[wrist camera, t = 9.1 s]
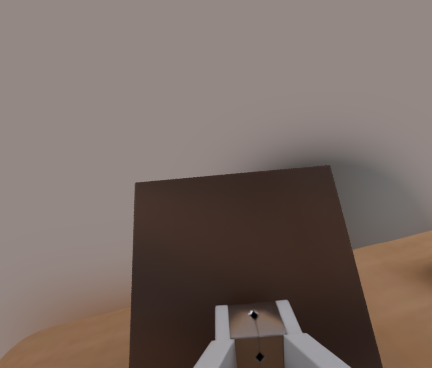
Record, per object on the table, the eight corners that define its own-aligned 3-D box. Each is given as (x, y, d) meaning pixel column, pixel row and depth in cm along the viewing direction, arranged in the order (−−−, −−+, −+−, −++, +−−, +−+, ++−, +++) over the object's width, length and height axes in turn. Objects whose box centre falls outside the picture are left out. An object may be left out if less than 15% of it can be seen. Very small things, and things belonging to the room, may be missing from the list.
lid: (139, 186, 14) (134, 182, 14) (324, 169, 14) (330, 164, 13) (131, 504, 10) (123, 524, 9) (403, 485, 10) (418, 504, 9)
